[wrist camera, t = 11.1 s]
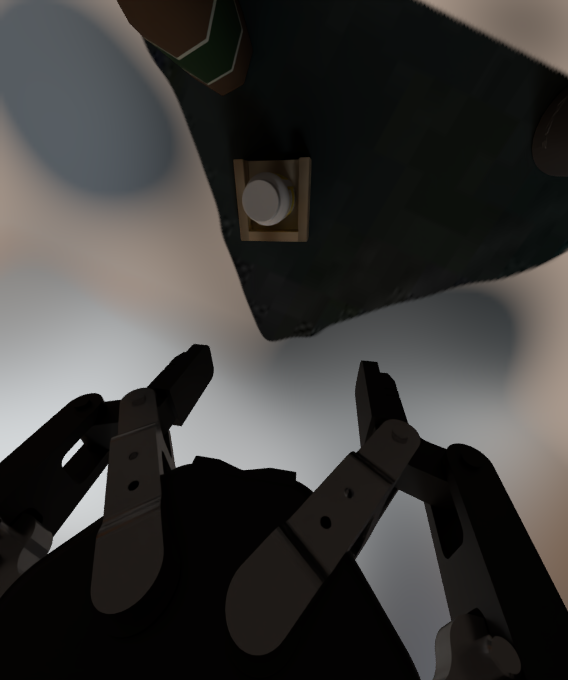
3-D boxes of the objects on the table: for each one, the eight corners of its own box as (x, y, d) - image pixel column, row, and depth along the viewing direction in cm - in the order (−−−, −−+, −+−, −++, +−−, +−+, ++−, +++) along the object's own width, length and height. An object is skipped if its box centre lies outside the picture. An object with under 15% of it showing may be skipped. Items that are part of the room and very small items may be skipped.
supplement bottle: (250, 193, 34) (224, 194, 26) (280, 164, 32) (263, 155, 24) (273, 227, 36) (257, 239, 28) (304, 202, 34) (296, 207, 25)
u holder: (311, 160, 32) (309, 157, 29) (308, 237, 37) (306, 241, 34) (241, 162, 33) (233, 159, 30) (248, 236, 38) (241, 240, 35)
